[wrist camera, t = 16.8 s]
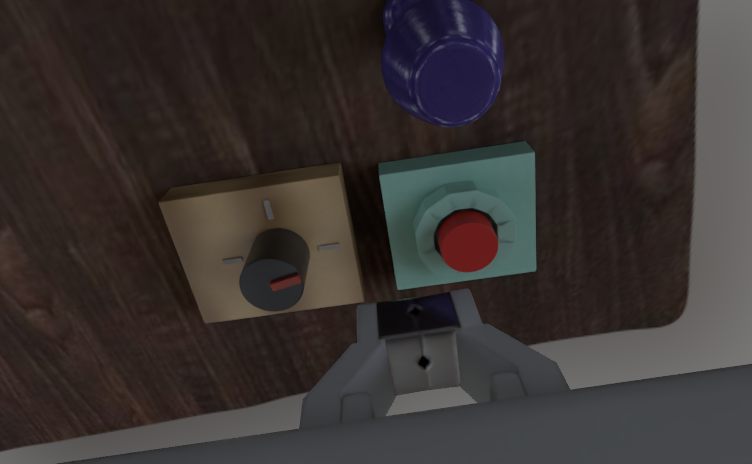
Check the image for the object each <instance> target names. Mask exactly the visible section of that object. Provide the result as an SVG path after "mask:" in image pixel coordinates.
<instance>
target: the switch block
mask: <svg viewBox="0 0 752 464" xmlns="http://www.w3.org/2000/svg"><path fill="white" fill-rule="evenodd" d="M378 167H379V179H380V185H381V191H382V198H383V204H384V210H385V216H386V222H387V229H388V235H389V241H390V247H391V253H392V259H393V266H394V272H395V278H396V284H397V289H398V290H402V289H409V288H416V287H423V286H431V285H438V284H445V283H452V282H460V281H467V280H474V279H481V278H489V277H496V276H503V275H510V274H518V273H525V272H532V271H536V217H535V152H534V151H533V150H532V149H531V148H530V146H529V145H528V144H527V143H526V142H525V141H523V142H516V143H510V144H503V145H497V146H490V147H483V148H477V149H470V150H464V151H457V152H450V153H444V154H437V155H431V156H424V157H418V158H411V159H404V160H398V161H391V162H385V163H379V164H378ZM461 211H475V212H478V213H480V214H482V215H484V216H485V217H486V218H487V219H488V220H489V222H490V223H491V226H492V228H493V230H494V232H495V234H496V236H497V239H498V251H497V254H496V256H495V258H494V259H493V261H492V262H491V263H490V264H489V265H488V266H486V267H485V268H483V269H481V270H478V271H475V272H460V271H456V270H454V269H452V268H451V267H449V266H448V265H447V264H446V263H445V261H444V260H443V258H442V255H441V251H440V247H439V243H438V232H439V229H440V226H441V225H442V223H443V222H444V221H445V220H446V219H447V218H448V217H449V216H451V215H453V214H455V213H457V212H461Z"/></svg>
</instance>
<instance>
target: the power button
mask: <svg viewBox="0 0 752 464" xmlns="http://www.w3.org/2000/svg"><path fill="white" fill-rule="evenodd" d="M438 243H439V247H440V251H441V255H442V258H443V260H444V261H445V263H446V264H447V265H448V266H449V267H451V268H452V269H454V270H456V271H460V272H475V271H478V270H481V269H483V268H485V267H486V266H488V265H489V264H490V263H491V262H492V261H493V259H494V258H495V256H496V254H497V251H498V239H497V236H496V234H495V232H494V230H493V228H492V226H491V223H490V222H489V220H488V219H487V218H486V217H485V216H484V215H482V214H480V213H478V212H475V211H461V212H457V213H455V214H453V215H451V216H449V217H448V218H447V219H446V220H445V221H444V222H443V223H442V225H441V226H440V229H439V232H438Z"/></svg>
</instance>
